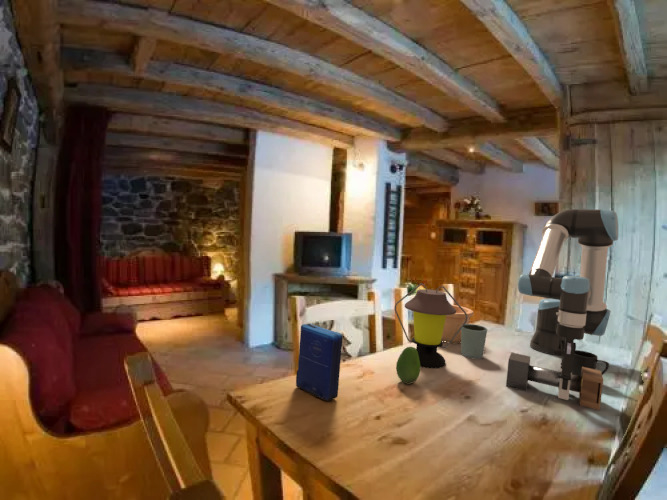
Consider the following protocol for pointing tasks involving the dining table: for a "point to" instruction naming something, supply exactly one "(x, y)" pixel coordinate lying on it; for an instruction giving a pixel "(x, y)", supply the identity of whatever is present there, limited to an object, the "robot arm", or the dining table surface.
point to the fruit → (408, 365)
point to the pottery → (455, 324)
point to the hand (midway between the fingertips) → (563, 394)
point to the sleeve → (518, 371)
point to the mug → (585, 362)
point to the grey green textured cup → (473, 340)
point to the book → (319, 361)
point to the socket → (591, 388)
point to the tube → (552, 378)
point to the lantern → (429, 323)
